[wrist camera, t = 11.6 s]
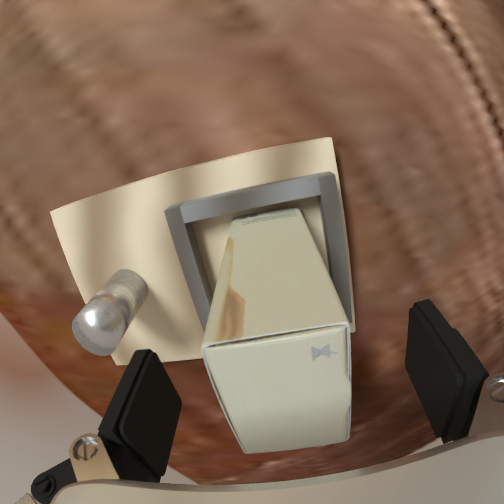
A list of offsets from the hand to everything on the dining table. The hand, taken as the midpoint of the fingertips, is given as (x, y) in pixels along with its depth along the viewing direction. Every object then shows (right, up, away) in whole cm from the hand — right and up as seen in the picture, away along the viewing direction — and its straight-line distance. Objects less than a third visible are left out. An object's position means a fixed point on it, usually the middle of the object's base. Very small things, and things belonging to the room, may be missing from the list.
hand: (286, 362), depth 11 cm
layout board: (-5, +3, +12) cm, 13 cm away
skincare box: (0, +4, +10) cm, 11 cm away
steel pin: (-10, +1, +11) cm, 15 cm away
